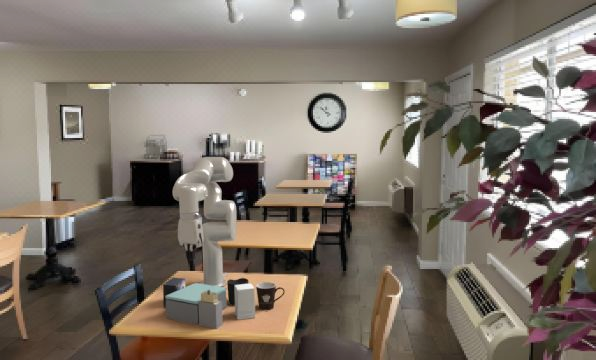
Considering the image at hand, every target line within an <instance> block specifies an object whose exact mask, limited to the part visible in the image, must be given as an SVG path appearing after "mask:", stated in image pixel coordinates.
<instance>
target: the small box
mask: <svg viewBox="0 0 596 360" xmlns="http://www.w3.org/2000/svg"><path fill="white" fill-rule="evenodd" d="M186 284H187V283H186V278H185V277H184V278H182V277H175V276H174V277H172V278H170V279H168V280H167V281H166V282H164V283H162V292H163V293H162V295H163V297H162V298H163V303H162V304H163V306H162V307H163V308H166V298H165V296H166V295H169V294H171V293H173V292H176V291H178V290H180V289H183V288H185V287H187V286H186Z"/></svg>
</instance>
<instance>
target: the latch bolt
mask: <svg viewBox="0 0 596 360" xmlns="http://www.w3.org/2000/svg"><path fill="white" fill-rule="evenodd" d="M201 301H205V302H210V303H214V302H216V301H218V293H213V292H211V290H207V291H205V292H203V293H201Z"/></svg>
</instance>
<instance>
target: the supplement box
mask: <svg viewBox="0 0 596 360" xmlns="http://www.w3.org/2000/svg"><path fill="white" fill-rule="evenodd" d="M234 291H235V306H234V315H235V317H236V318H237V320H246V319H247V320H249V319H254V318H256V304H255V302H256V299H255V297H256V295H255V286H254V285H253V284H252V283H248V284H240V285H234Z"/></svg>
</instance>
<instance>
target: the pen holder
mask: <svg viewBox="0 0 596 360" xmlns="http://www.w3.org/2000/svg"><path fill="white" fill-rule="evenodd" d="M240 284H249V279H247V278H244V277H241V278H237V279H228V280H227V281H226V285H227V299H228V304H229V305H231V306H233V307H235V291H234V285H240Z"/></svg>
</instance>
